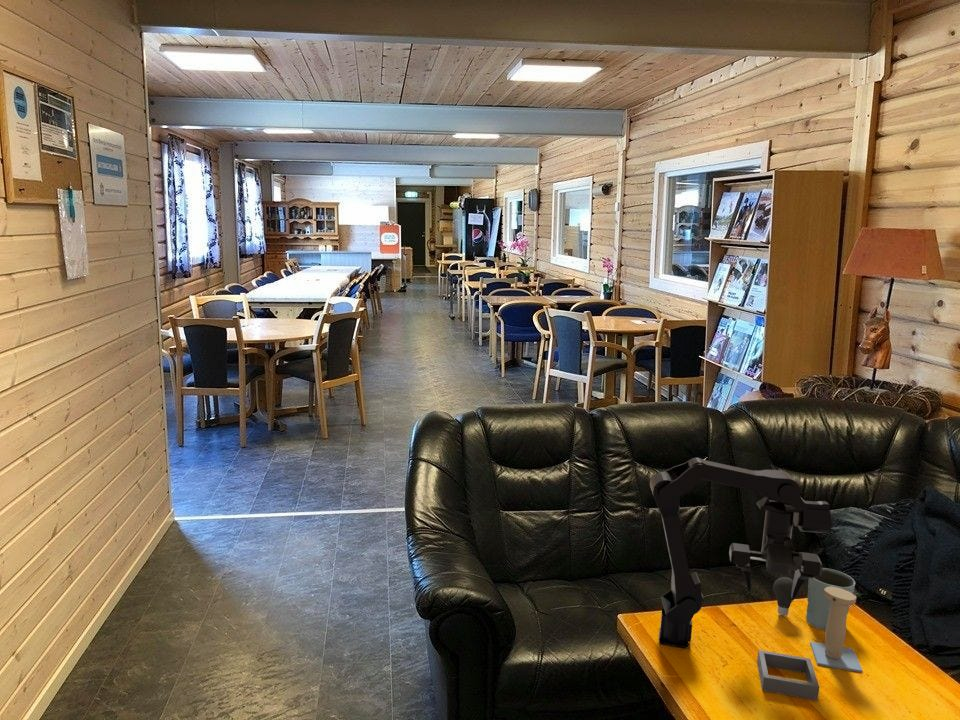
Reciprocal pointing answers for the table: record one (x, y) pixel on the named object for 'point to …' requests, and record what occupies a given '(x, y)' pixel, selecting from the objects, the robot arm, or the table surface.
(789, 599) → the light bulb
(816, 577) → the grey cup
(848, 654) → the mat
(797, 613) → the table surface
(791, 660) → the grey square frame
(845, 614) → the handle
